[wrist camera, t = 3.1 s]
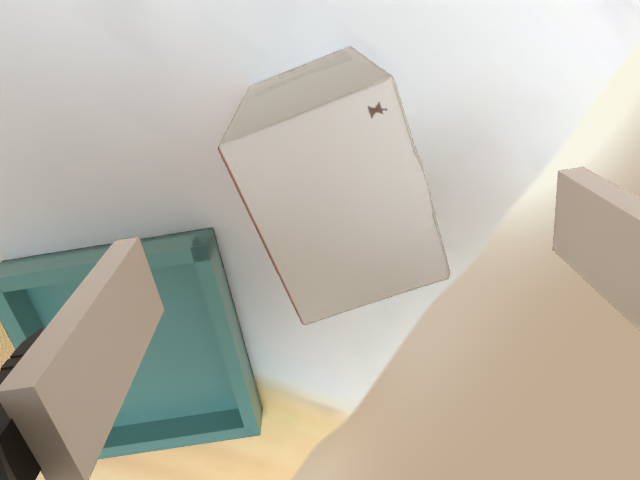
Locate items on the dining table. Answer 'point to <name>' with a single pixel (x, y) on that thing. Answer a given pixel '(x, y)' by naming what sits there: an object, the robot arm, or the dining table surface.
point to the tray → (157, 342)
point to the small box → (335, 185)
